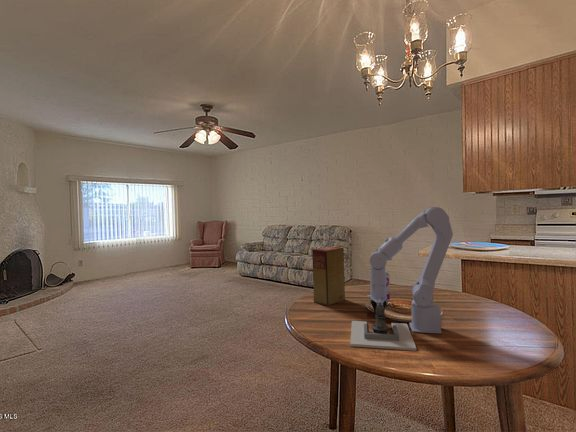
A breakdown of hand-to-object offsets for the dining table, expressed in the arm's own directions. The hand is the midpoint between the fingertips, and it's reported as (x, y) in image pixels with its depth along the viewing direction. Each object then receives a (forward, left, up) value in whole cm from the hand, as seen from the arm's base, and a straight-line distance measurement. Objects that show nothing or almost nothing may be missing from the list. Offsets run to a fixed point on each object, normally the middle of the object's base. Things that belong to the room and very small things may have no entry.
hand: (378, 320), depth 117 cm
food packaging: (+21, -27, -2) cm, 34 cm away
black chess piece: (0, +11, -2) cm, 11 cm away
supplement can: (-2, -25, -2) cm, 25 cm away
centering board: (0, +9, -2) cm, 9 cm away
